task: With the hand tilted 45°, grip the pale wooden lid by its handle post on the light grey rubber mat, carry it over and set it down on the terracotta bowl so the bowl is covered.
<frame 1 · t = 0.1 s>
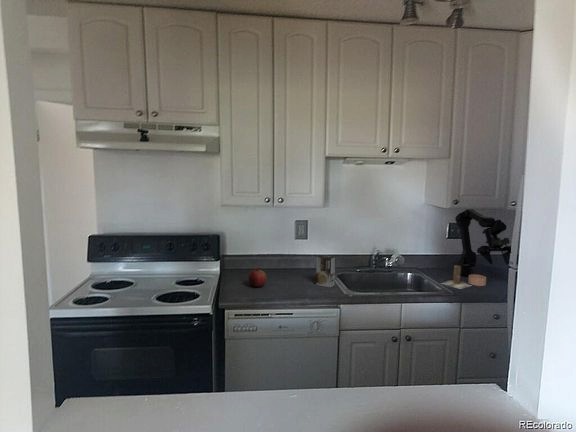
hand: (499, 264, 209), 15 cm above the countertop, tool tilted 35°, fingers open, 9 cm apart
mat: (456, 285, 220), on the countertop
fruit: (257, 286, 209), on the countertop
bowl: (476, 284, 224), on the countertop
lid: (456, 284, 220), on the countertop, touching mat
coffee box: (325, 285, 215), on the countertop
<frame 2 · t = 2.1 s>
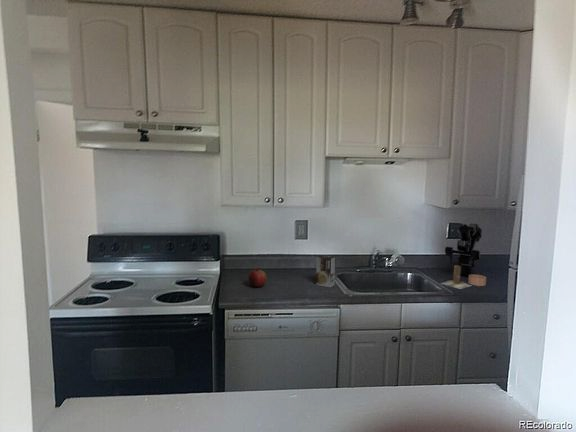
hand: (459, 264, 223), 11 cm above the countertop, tool tilted 45°, fingers open, 9 cm apart
nothing on the countertop moved.
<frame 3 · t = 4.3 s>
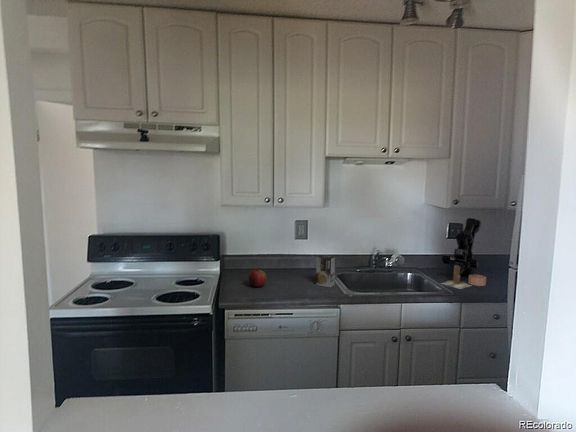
hand: (456, 273, 218), 7 cm above the countertop, tool tilted 45°, fingers closed on lid, 3 cm apart
lid: (456, 284, 220), on the countertop, touching gripper, mat
everything else where it was.
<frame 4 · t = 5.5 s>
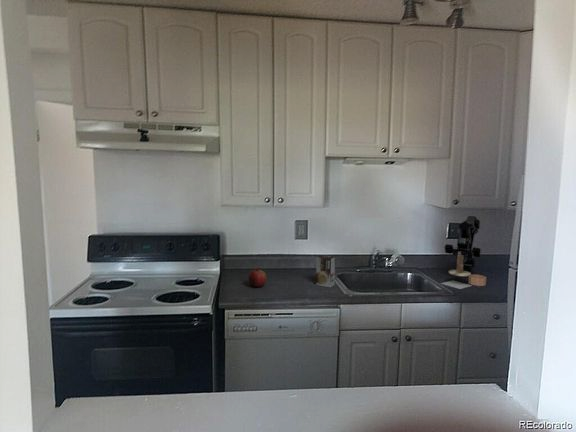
hand: (460, 262, 217), 14 cm above the countertop, tool tilted 45°, fingers closed on lid, 3 cm apart
lid: (459, 273, 219), point 7 cm above the countertop, touching gripper
everything else where it was.
when the fingers open (12 cm above the countertop, at t = 7.0 s): lid stays where it is, resting on bowl.
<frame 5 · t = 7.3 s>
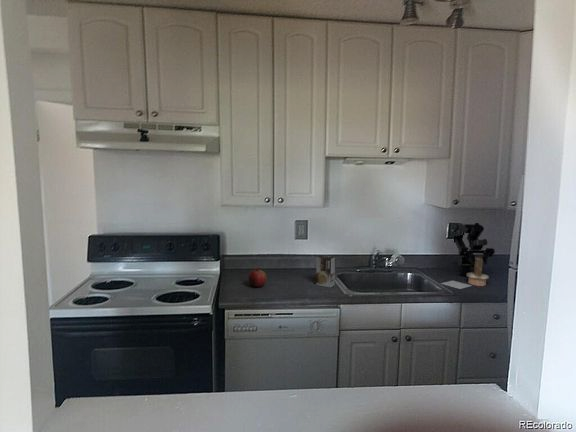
hand: (479, 264, 221), 12 cm above the countertop, tool tilted 45°, fingers open, 7 cm apart
lid: (477, 276, 223), point 4 cm above the countertop, touching bowl
everything else where it was.
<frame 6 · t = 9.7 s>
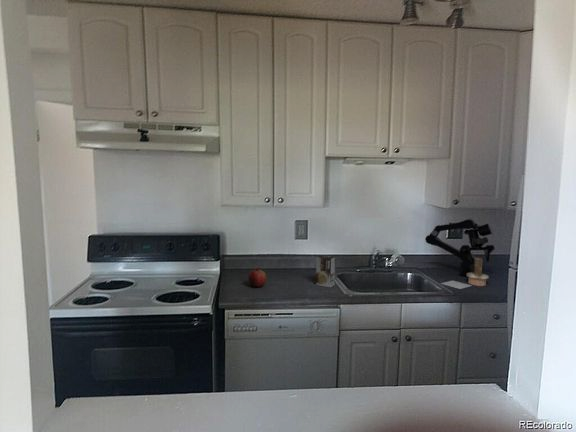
hand: (480, 261, 228), 12 cm above the countertop, tool tilted 35°, fingers open, 9 cm apart
nothing on the countertop moved.
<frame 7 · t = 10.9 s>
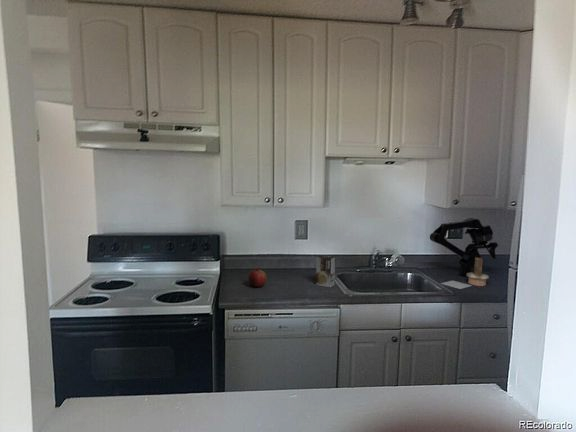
hand: (487, 259, 228), 14 cm above the countertop, tool tilted 45°, fingers open, 9 cm apart
nothing on the countertop moved.
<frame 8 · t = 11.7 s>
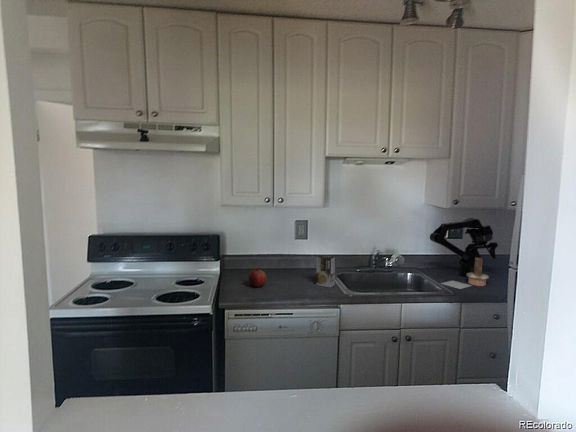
hand: (487, 259, 228), 14 cm above the countertop, tool tilted 45°, fingers open, 9 cm apart
nothing on the countertop moved.
at the end: lid 0.0 cm from the bowl (horizontally); lid point 4.5 cm above the countertop; the gripper is holding nothing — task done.
